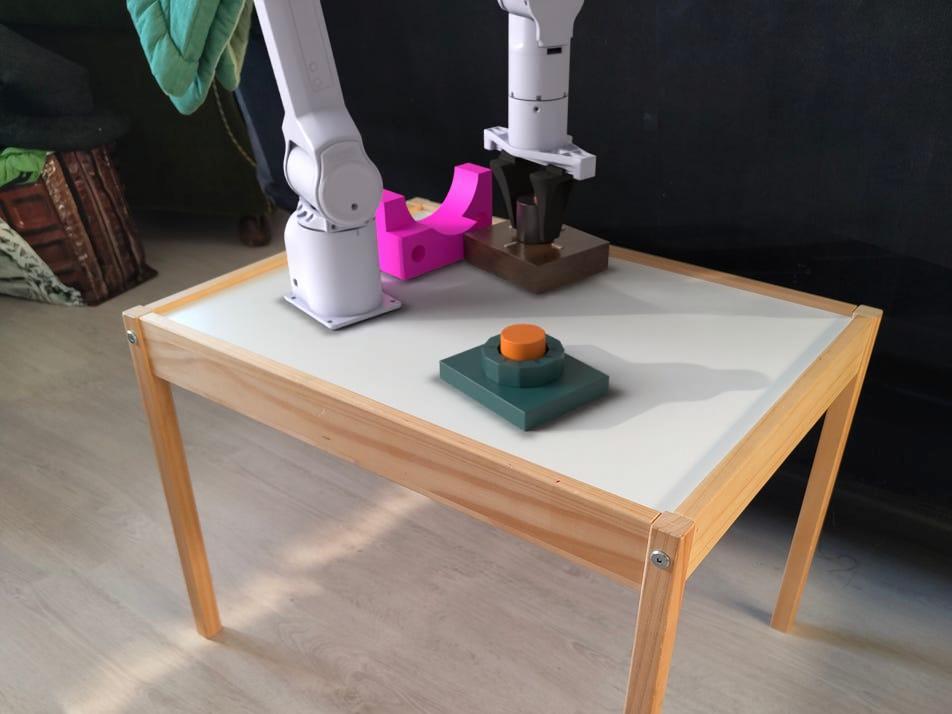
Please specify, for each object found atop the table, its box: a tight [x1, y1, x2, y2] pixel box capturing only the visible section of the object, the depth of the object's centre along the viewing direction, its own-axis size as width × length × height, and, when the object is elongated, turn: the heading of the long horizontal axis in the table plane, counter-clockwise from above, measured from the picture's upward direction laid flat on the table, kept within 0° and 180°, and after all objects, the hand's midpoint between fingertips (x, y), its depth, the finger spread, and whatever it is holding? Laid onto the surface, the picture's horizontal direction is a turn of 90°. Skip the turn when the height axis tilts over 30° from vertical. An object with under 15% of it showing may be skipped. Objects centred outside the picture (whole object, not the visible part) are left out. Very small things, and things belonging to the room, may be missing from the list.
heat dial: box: [516, 192, 552, 244], centre depth 92 cm, size 4×4×4 cm
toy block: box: [375, 162, 493, 281], centre depth 96 cm, size 15×6×8 cm, turn 133°
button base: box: [439, 333, 610, 432], centre depth 73 cm, size 11×9×4 cm
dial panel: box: [463, 219, 611, 295], centre depth 95 cm, size 12×10×3 cm
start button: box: [500, 323, 547, 361], centre depth 72 cm, size 4×4×2 cm
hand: (535, 232), depth 93 cm, fingers closed on heat dial, 4 cm apart
